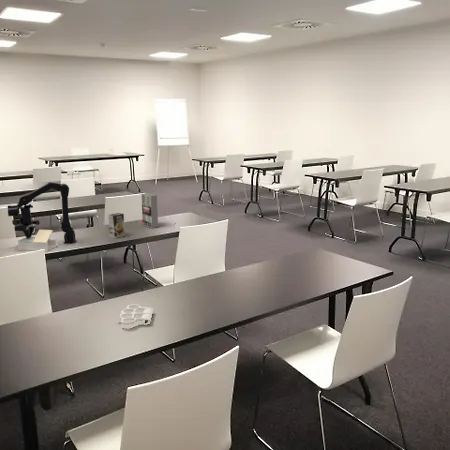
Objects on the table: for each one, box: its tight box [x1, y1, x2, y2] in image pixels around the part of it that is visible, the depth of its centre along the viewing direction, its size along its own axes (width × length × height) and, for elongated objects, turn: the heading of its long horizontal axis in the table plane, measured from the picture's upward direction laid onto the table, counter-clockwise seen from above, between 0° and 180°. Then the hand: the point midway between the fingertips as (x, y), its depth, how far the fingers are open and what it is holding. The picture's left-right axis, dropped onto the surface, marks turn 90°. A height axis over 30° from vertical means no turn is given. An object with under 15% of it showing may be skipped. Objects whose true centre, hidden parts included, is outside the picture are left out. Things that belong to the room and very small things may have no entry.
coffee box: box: [107, 212, 126, 239], centre depth 311 cm, size 9×6×16 cm
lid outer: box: [17, 236, 36, 243], centre depth 285 cm, size 9×10×1 cm
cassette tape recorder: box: [140, 192, 159, 229], centre depth 339 cm, size 14×6×25 cm, turn 42°
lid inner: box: [33, 229, 54, 243], centre depth 281 cm, size 9×10×1 cm
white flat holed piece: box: [118, 303, 155, 325], centre depth 184 cm, size 3×18×15 cm
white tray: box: [17, 238, 58, 252], centre depth 285 cm, size 20×12×5 cm, turn 80°
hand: (28, 238), depth 287 cm, fingers closed on lid outer, 2 cm apart
